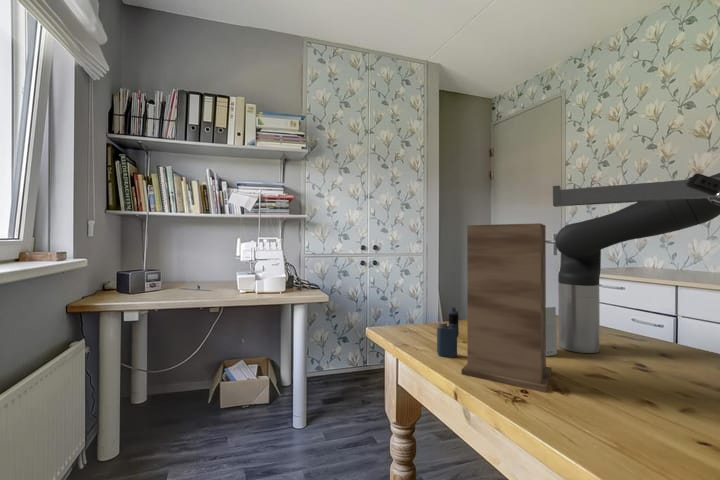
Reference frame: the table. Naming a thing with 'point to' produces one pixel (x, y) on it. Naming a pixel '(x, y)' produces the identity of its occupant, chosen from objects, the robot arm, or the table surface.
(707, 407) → the table surface
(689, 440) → the table surface
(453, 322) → the vaping device
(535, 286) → the stand
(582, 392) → the table surface
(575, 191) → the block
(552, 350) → the skincare box
